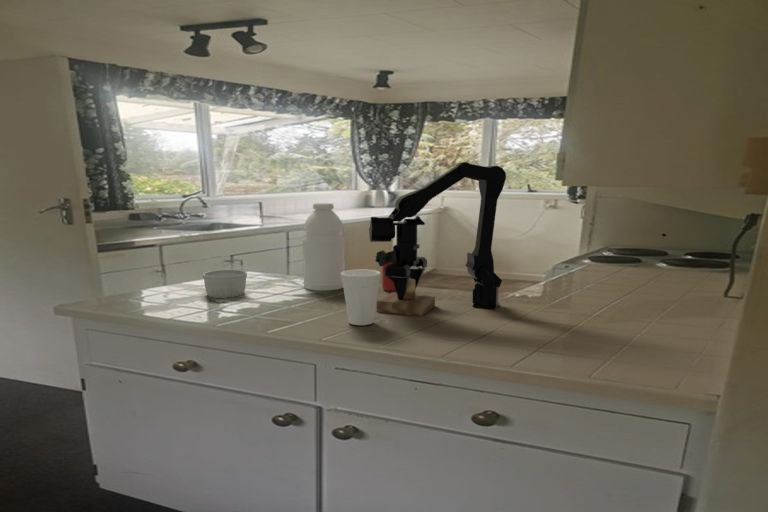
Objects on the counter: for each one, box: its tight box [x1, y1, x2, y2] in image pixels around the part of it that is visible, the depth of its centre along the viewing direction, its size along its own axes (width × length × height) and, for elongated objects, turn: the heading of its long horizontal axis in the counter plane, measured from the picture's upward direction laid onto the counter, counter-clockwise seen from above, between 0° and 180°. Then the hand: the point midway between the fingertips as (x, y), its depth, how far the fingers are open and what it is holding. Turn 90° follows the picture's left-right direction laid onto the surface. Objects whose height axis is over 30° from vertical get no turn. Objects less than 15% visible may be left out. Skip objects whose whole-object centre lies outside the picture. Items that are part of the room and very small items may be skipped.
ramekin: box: [202, 269, 248, 299], centre depth 166 cm, size 13×13×7 cm
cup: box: [341, 268, 382, 326], centre depth 133 cm, size 10×10×13 cm
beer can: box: [381, 262, 396, 293], centre depth 173 cm, size 7×7×12 cm
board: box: [376, 291, 436, 317], centre depth 148 cm, size 13×12×3 cm
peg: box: [397, 279, 416, 300], centre depth 148 cm, size 5×5×8 cm
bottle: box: [302, 202, 346, 292], centre depth 176 cm, size 14×14×28 cm
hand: (406, 296), depth 148 cm, fingers open, 9 cm apart
